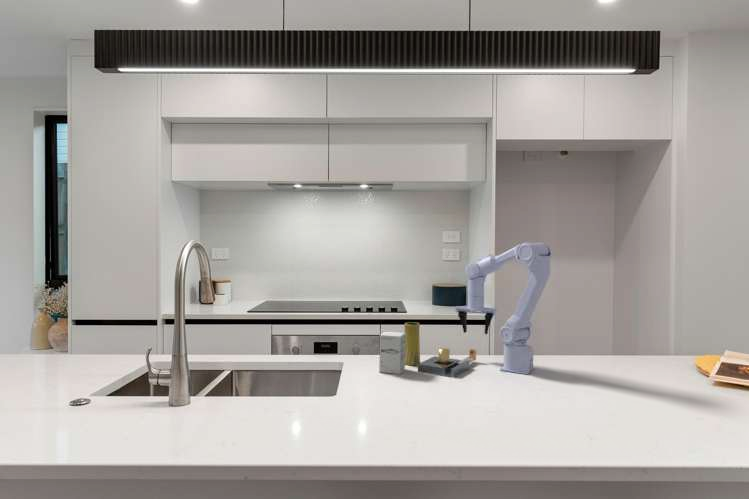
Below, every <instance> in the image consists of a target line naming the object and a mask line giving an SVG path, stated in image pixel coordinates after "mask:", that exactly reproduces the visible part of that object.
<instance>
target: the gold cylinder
mask: <svg viewBox="0 0 749 499" xmlns="http://www.w3.org/2000/svg"><path fill="white" fill-rule="evenodd" d="M438 357H439V364H442V365H449V358H450V349H449V348H446V347H445V348H443V347H440V348H439V349H438Z"/></svg>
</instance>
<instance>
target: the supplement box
mask: <svg viewBox="0 0 749 499" xmlns="http://www.w3.org/2000/svg"><path fill="white" fill-rule="evenodd" d="M405 337H406V333H405V332H402V331H401V332H400V331H384V332H382V333H381V334H380V335H379V360H378V361H379V363H378V364H379V368H378V369H379V370H378V372H379V373H386V374H396V375H401V374H402V373H403V371H405V368H406V365H405Z"/></svg>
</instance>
